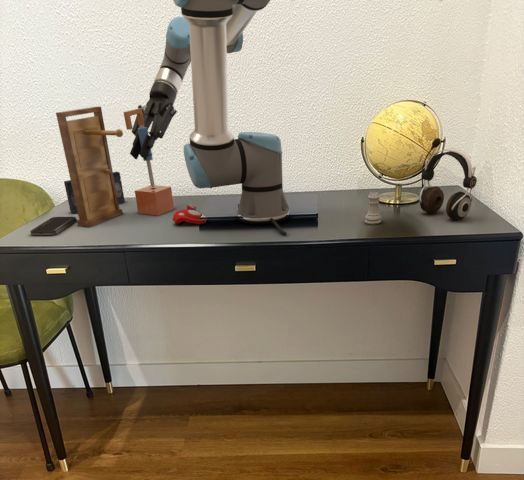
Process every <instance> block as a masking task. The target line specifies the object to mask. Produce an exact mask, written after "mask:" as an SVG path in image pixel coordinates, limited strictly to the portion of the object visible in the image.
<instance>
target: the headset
mask: <svg viewBox="0 0 524 480" xmlns="http://www.w3.org/2000/svg"><path fill="white" fill-rule="evenodd" d="M441 142H442V140H441V138H439V137H436V138H434V139H433V140H432V143H431V147H430V149H429V151H428V153H427V154H426V156H425V158H424V160H423V163H422V167H421V176H420V177H421V190H420V192H419V207H420V209H421V210H422V211H424V212H425V213H426V214H427V215H428V214H429V215H432V214H435V213H437V212H439V211H440V209H441V208H442V207H443V204H444V200H445V194H444V191H443V190H442V189H441V188H440V187H439V186H432V185H431V184H430V181H432V180H433V179H434V177H435V170H434V169H435V167H436V164H437V163H438V161H439V160H440V159H441V158H442V157H444V156H446V155H447V156H450V157H452V158H453V159H455V160H456V161H457V162H458V164H460V166H461V168H462V170H463V174H464V177H463V180H462V187H463V188H465V189H466V191H465V192H464V191H462V190H461V191H457V192H454V193H453V194H451V195H450V197H449V198H448V200H447V201H446V206H445V212H446V215H447V217H449V219H450V220H453V221H455V220H462V219H464V218H465V217H467V215H468V214H469V212H470V210H471V206H472V204H473V203H472V202H473V200H474V196H473V194H472V191H473V189H474V188H475V187H476V185H477V181H478V180H477V179H478V178H477V176H475V171H476V169H477V167H476V166H473V164H472V162H471V159H470V158H469V157H468V156H467V155H466V154H465V153H464V152H462V151H460V150H456V149H442V150H438V151H436V152H434V153H433V154H432V155H431V157H430V158H429V159H428V157H429V155H430V154H431V151H432V150H434V149H436V148H438V147H439V146H440V145H441ZM426 181H427V182H426ZM426 183H427V185H428V187H427V188H426ZM425 188H426V189H425ZM468 192H469V194H468Z"/></svg>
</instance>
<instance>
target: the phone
mask: <svg viewBox="0 0 524 480" xmlns="http://www.w3.org/2000/svg"><path fill="white" fill-rule="evenodd" d="M74 223H77V217H76V216H53V217H51V218H49V219H47V220H46V221H44V222H42V223H41V224H38V225H37V226H35V227H33V228H32V229H31V230H30V235H31V236H55V235H58V234H60V233H61V232H63V231H64V230H66V229H67V228H69V227H70V226H72V225H73V224H74Z"/></svg>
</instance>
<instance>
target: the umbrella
mask: <svg viewBox="0 0 524 480" xmlns="http://www.w3.org/2000/svg"><path fill="white" fill-rule="evenodd" d="M135 115H136V116H137V118H138V124H139V125H140V128H138V134H139V139H140V144H141V148H142V145H143V143H144V140H145V138H146V135H149V133H148V132H149V131H148V130H149V129H147V127H144V125H145V123H144V117H143V112H142V108H138V107H137V108H135V109H131V110H127V111H123V118H124V124H125V128H126V130H127V131H128V130H129V131H130V130H131V131H132V129H133V123H132V118H131V116H135ZM153 159H154V158H153V153H152V149H150V152H149V154H148V157H147V159H146V160H144V159H143V158H142V160H143V161H144V162H146V167H147V172H148V178H149V184H150V185H151V187H155V185H156V183H155V179H154V173H153V168H152V163H151V162H152V161H153Z"/></svg>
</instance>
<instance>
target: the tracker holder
mask: <svg viewBox="0 0 524 480" xmlns="http://www.w3.org/2000/svg"><path fill="white" fill-rule="evenodd" d="M185 205H186V208H184V209H179V210H176V211H175V212H174V214H173V216H172V221H173V222H174V223H175V225H180V224H182V223H184V222H186V223H190V224H195V225H204V224H206V223H207V219H208V217H207V218H206V219H205V220H201V219H200V217H201V216H202V214H203V213H202V212H201V211H199V210H198V209H197V207H196V206H195V205H193V204H192V205H191V204H189V203H185Z"/></svg>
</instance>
